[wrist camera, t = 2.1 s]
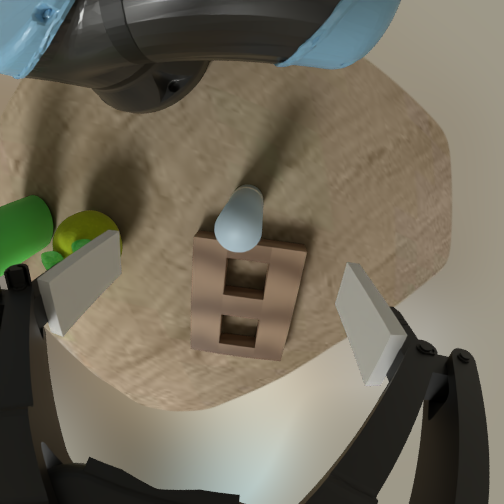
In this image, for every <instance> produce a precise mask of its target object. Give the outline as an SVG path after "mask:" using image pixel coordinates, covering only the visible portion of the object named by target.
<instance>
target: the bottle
mask: <svg viewBox="0 0 504 504" xmlns="http://www.w3.org/2000/svg"><path fill="white" fill-rule="evenodd" d="M52 236H53V222H52V216H51V213H50V210H49V208H48V207H47V205H46V204H45V202H44V201H43V200H42V199H41V198H39V197H38V196H34V195H31V196H28V197H25V198H22V199H19V200H17V201H14V202H11V203H9V204H6V205H4V206H1V207H0V276H2V275H4V271H5V270H6V269H7V268H8V267H10V266H12V265H15V264H20V263H22V262H23V261H25V260H26V259H28V258H29V257H31V256H32V255H34V254H35V253H37V252H39V251H40V250H42V249H43V248H45V247H46V246H47V245H48V244H49V243H50V241H51V239H52Z"/></svg>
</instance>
